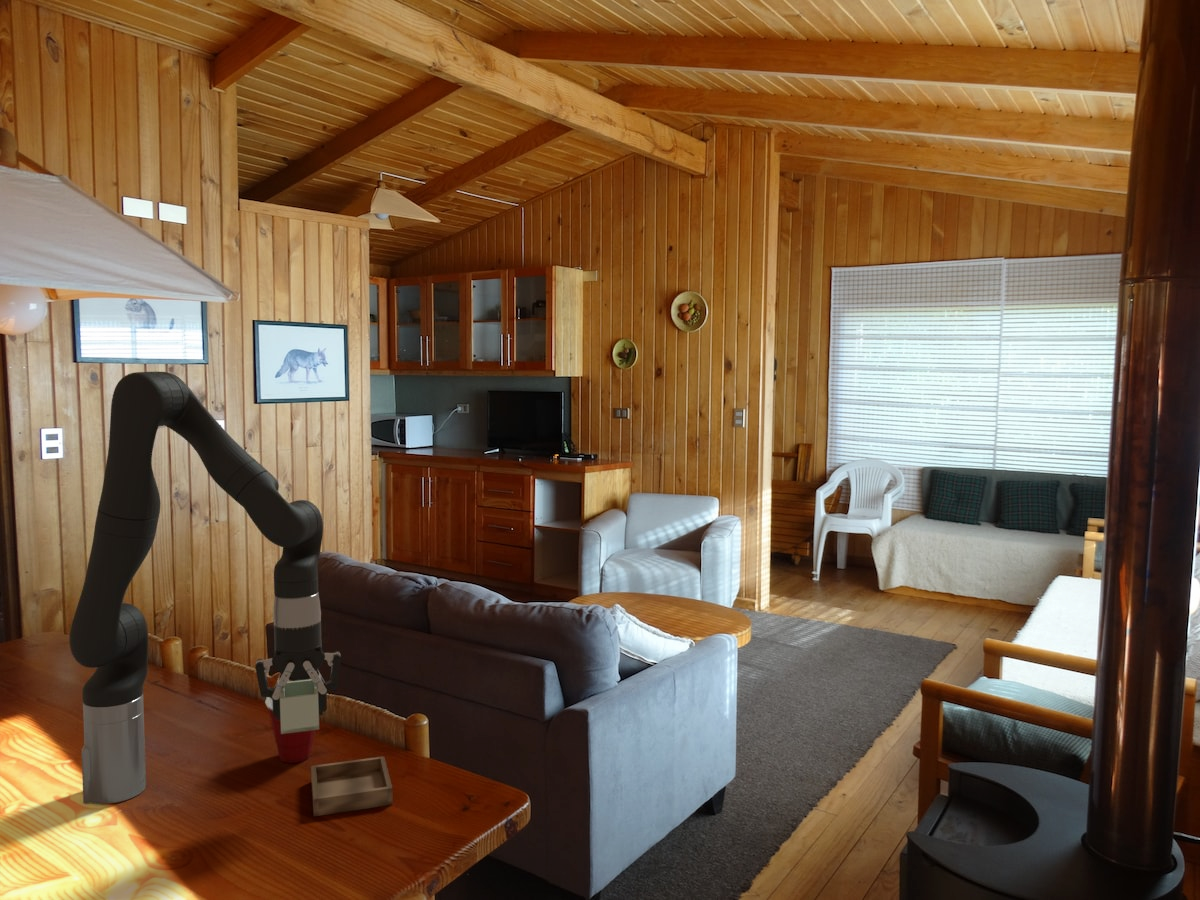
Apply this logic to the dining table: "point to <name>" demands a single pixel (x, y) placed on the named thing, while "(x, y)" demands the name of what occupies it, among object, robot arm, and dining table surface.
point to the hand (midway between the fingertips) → (300, 715)
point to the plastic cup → (290, 740)
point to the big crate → (350, 786)
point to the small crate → (299, 707)
